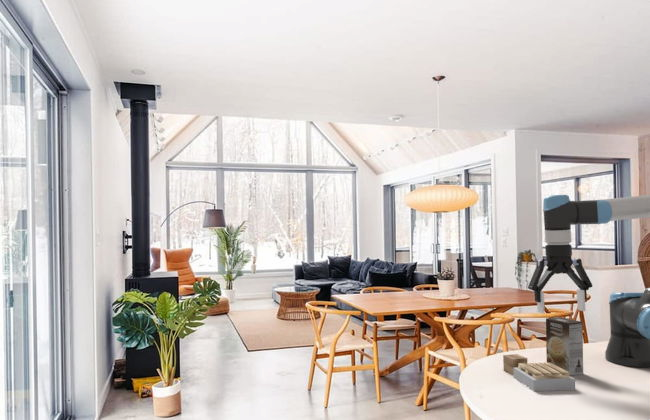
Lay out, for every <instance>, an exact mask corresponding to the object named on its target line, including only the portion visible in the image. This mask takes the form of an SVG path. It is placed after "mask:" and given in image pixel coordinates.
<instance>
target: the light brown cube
mask: <svg viewBox="0 0 650 420" xmlns="http://www.w3.org/2000/svg"><path fill="white" fill-rule="evenodd" d="M502 357H503V360H502V361H503V363H502V364H503V372H505V373H507V374H510V375H512V376H513V375H514V373H513V368H516V367H518V363H525V364H527V363H528V357H525V356H524V355H521V354H518V353H515V354H514V353H513V354H503V355H502Z"/></svg>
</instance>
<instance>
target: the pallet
mask: <svg viewBox="0 0 650 420" xmlns="http://www.w3.org/2000/svg"><path fill="white" fill-rule="evenodd" d="M518 369H520V370H525V373H526V374H532V377H533V378H534V379H548V378H570V376H569V372H567V371H565V370H563V369H562V368H560V367H558V366H556V365H554V364H552V363H550V362H549V363H547V362H527V364H525V363H518Z"/></svg>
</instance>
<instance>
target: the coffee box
mask: <svg viewBox="0 0 650 420" xmlns="http://www.w3.org/2000/svg"><path fill="white" fill-rule="evenodd" d="M583 327H584V326H583V321H579V320H576V319H575V320H574V319H571V318H567V317H564V316H556V317H555V316H554V317H546V318H545V339H546V341H545V342H546V345H545V346H546V347H545V349H546V353H545V354H546V363H549V362H550V363H552V364H554V365H556V366H558V367H560V368H562V369H563V370H565V371H567V372H569V376H571V377H572V376H577V375H584V339H583V338H584V337H583V336H584V335H583V333H584V331H583V330H584V329H583Z"/></svg>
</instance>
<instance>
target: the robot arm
mask: <svg viewBox="0 0 650 420" xmlns="http://www.w3.org/2000/svg"><path fill="white" fill-rule="evenodd" d="M542 203H543V208H542V211H543V221H544V222H543V224H544V242H545V247H544V249H545V257H546V259H545V260H543V259H537V260H536V264H535V265H536V266H535V269H534V271H533V273H532V277H531V279H530V281H529V284H528V286H527V288H528V290H530V291H533V292H534V301H535V303H536V306H537V313H540V314H545V312H546V310H545V293H544V291H543V289H544V288H545V286H546V285H547V284H548V282H549V281H550V280H551V278H552V277H553V276H554V275H560V274H563V275H565V274H566V275H567V276H568V277H569V278H570V280H571V281H572V282H573V283H574V284H575V285H576V286H577V287H578V288H576V302H577V303H576V304H577V311H581V312H586V301H587V297H588V294H587V291H589V290H590V289H591V288H593V283H592V281H591V279H590V278H589V276H588V273H587V272H586V270H585V268H584V267H583V263H582V262H583V261H582V259H581V258H577V257H576V258H572V255H573V252H572V251H573V249H572V245H571V243H572V231H571V230H572V229H571V226H572V225H573V226H575V225H602V224H603V225H604V224H608V223H610V222H613V221H614V222H615V221H625V220H637V219H646V218H647V219H648V218H649V219H650V194H644V195H636V196H635V195H633V196H626V197H616V198H615V197H614V198H606V199H605V198H604V199H590V200H589V199H588V200H571V199H570V196H569V195H568V194H553V195H552V194H551V195H546V196H544V198H543V202H542ZM572 265H573V267H574V269H575V270H574V269H573V267H572ZM546 267H547V268H546ZM545 268H546V269H545ZM544 270H545V271H544ZM575 271H576V272H575ZM608 304H609V321H610V322H609V325H610V327H609V328H610V337H609V341H608V343H607V345H606V349H605V351H604V353H605V354H604V355H605V357H604V358H605V360H607V361H609V362H610V363H613V364H617V365H621V366H627V367H633V368H634V367H635V368H650V287H647V288H645V290H644V291H643V292H612V293H610V295H609V302H608Z"/></svg>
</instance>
